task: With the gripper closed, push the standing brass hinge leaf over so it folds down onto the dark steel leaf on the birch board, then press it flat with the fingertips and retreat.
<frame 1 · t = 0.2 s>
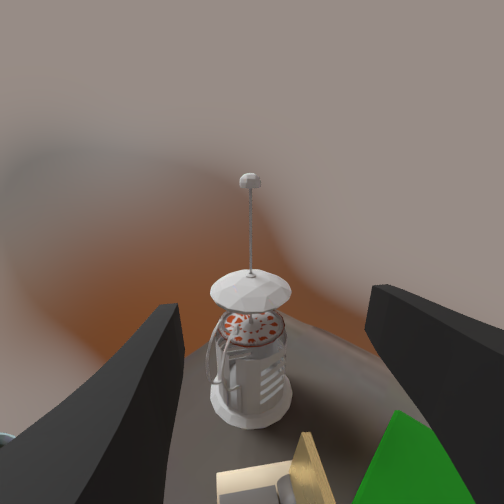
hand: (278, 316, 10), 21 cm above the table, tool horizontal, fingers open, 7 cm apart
french press: (247, 396, 31), on the table
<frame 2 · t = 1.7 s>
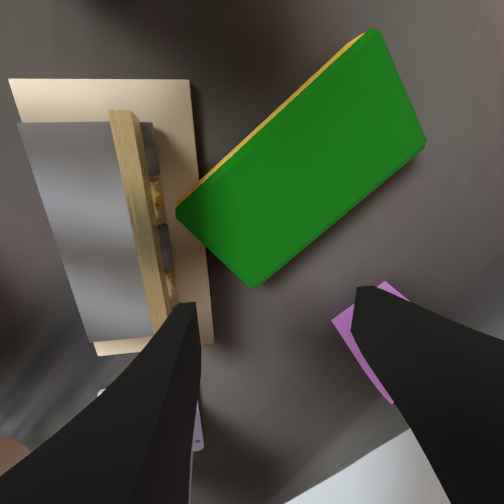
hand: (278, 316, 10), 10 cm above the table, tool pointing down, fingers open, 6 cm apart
bracket: (388, 340, 25), on the table
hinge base: (159, 236, 18), on the table
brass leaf: (153, 262, 14), point 4 cm above the table, hinge at 100.0°
dish sponge: (291, 172, 17), on the table, touching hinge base
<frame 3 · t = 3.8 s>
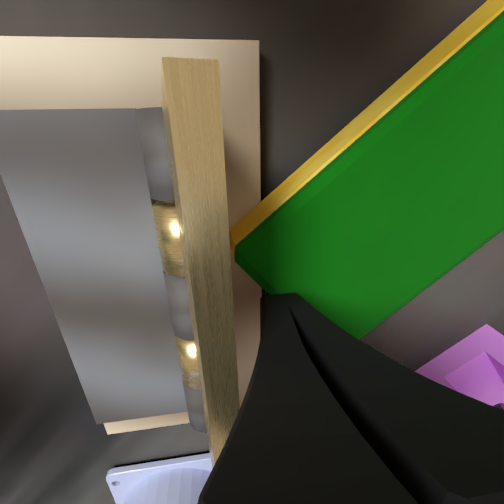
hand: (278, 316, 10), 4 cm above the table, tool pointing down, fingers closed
bracket: (475, 392, 20), on the table
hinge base: (196, 277, 13), on the table
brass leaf: (201, 335, 9), point 4 cm above the table, hinge at 100.0°, touching gripper
dish sponge: (389, 185, 12), on the table, touching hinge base
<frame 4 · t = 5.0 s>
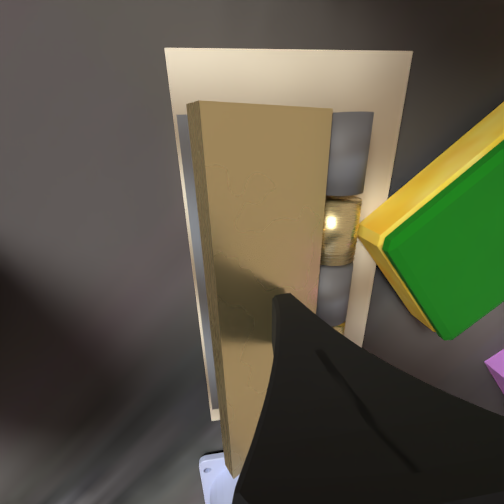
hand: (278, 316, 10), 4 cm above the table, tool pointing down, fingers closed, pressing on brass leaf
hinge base: (311, 269, 14), on the table
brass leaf: (287, 307, 11), point 3 cm above the table, hinge at 27.9°, touching gripper
dish sponge: (496, 182, 13), on the table, touching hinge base
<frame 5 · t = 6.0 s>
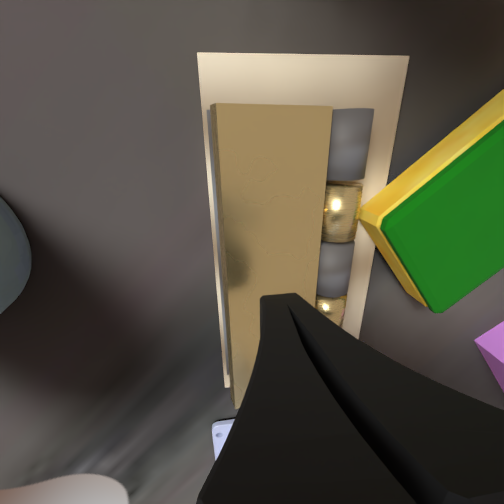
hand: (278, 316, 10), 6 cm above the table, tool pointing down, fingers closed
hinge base: (317, 250, 15), on the table
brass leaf: (291, 274, 13), point 3 cm above the table, hinge at 16.0°
dish sponge: (484, 173, 14), on the table, touching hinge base
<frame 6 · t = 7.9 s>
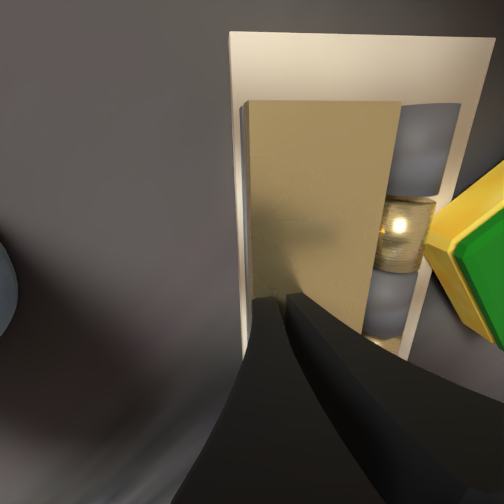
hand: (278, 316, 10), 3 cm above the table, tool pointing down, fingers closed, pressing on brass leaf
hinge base: (360, 274, 13), on the table
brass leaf: (332, 304, 11), point 2 cm above the table, hinge at 5.2°, touching gripper
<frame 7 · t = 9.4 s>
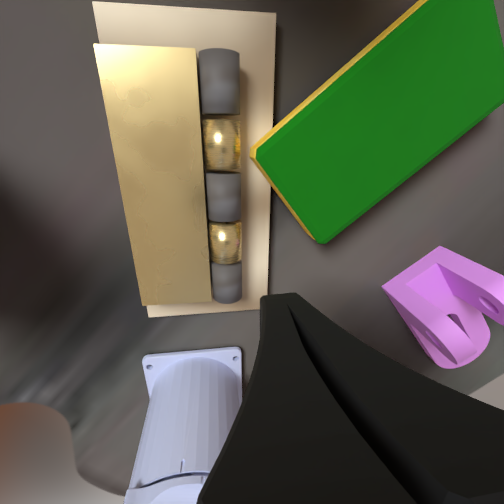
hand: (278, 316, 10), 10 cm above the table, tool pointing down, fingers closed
bracket: (434, 311, 25), on the table
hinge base: (223, 190, 17), on the table
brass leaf: (184, 196, 15), point 2 cm above the table, hinge at -0.8°, touching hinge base
dish sponge: (363, 124, 17), on the table, touching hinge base
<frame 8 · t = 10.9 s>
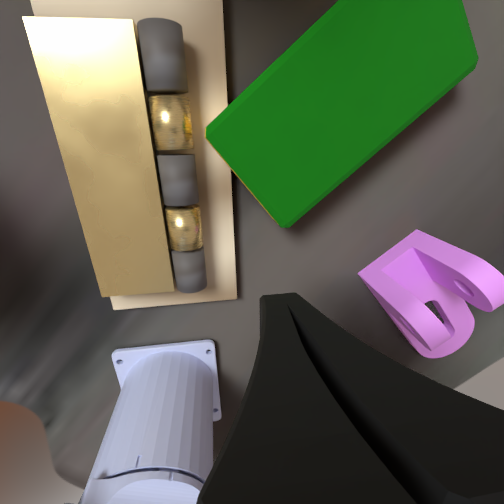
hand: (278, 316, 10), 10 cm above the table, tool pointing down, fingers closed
bracket: (416, 299, 24), on the table
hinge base: (182, 175, 17), on the table
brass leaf: (136, 180, 15), point 2 cm above the table, hinge at -0.8°, touching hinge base
dish sponge: (326, 102, 16), on the table, touching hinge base
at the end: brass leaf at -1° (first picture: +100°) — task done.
